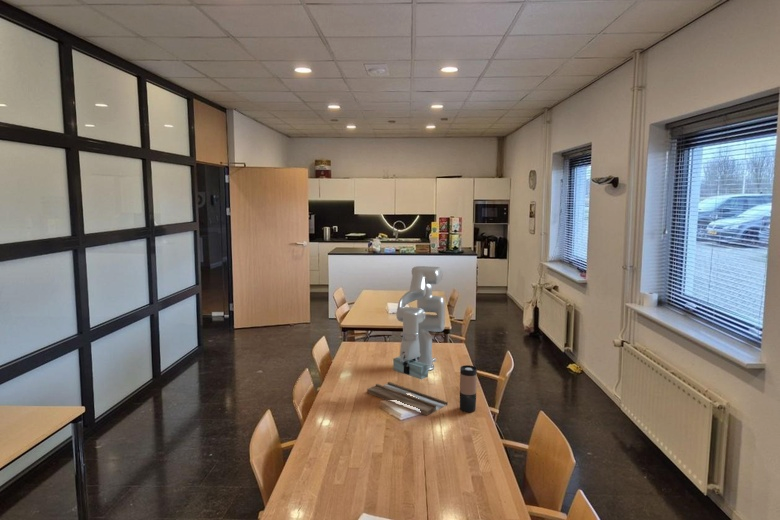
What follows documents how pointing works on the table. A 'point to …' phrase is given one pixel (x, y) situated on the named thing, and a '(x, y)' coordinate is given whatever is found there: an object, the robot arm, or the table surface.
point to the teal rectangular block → (412, 368)
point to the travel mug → (468, 388)
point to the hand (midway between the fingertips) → (410, 371)
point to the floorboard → (407, 397)
